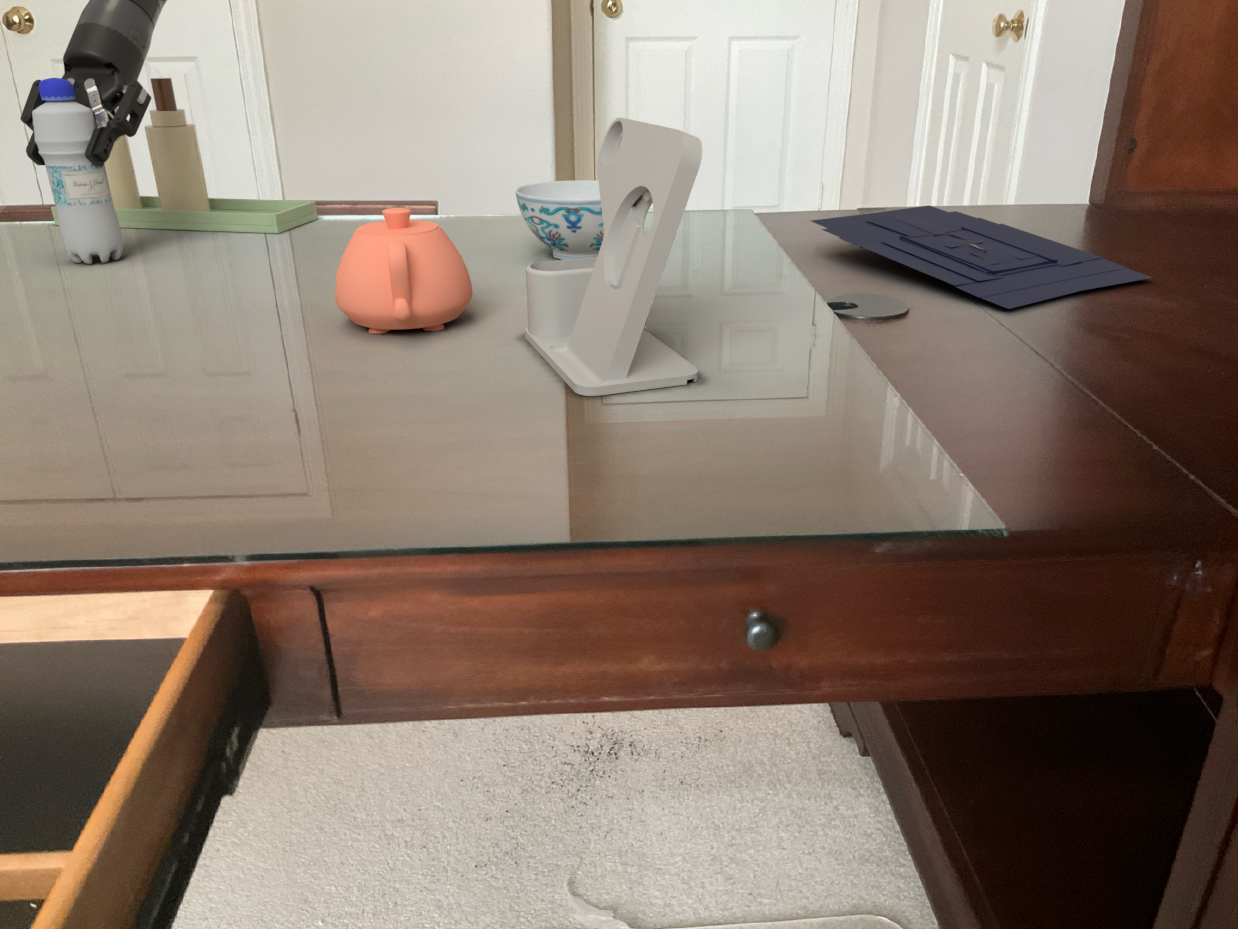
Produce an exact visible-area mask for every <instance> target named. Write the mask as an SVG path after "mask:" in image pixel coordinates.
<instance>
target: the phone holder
mask: <svg viewBox="0 0 1238 929" xmlns="http://www.w3.org/2000/svg"><path fill="white" fill-rule="evenodd" d="M702 158H703V144H702V141H701V139H700V138H699V137H698V136H695V135H694V134H693V135H692V134H690V133H687V132H685V131H682V130H680V129H676V128H672V127H668V126H663V125H658V124H653V123H650V122H644V121H639V120H634V119H629V118H625V117H616V118H614V119H613V120H612V121H611V123H610V124H609V126H608V128H607V130H606V132H605V135H604V137H603V139H602V143H601V146H600V149H599V152H598V155H597V161H596V174H597V181H598V183H599V191H600V199H601V208H602V216H603V224H604V236H603V241H602V244H601V247H600V251H599V254H598V257H593V258H580V259H567V260H561V259H558V260H557V259H556V260H544V261H537V262H533V263H531V264H529V265H527V266H526V268H525V283H526V284H525V285H526V286H525V287H526V305H527V327H525V328H524V338H525V340H526V341H527V342H528V344H530V345H531V347H533V349H534V350H535V351H536V352H537V353H538V354H539V356H541V357H542V358H543V359H544V361H545V362H546V363H547V364H548V365H549V366H550V368H552V369H553V371H555V373H556V374H557V375H558V376H559V377H560V378H561V379H562V380H563V382H565V383H566V385H567V386H568V387H569V388H570V389H571V390H572V391H573V392H574V393H575V394H577V395H580V396H586V397H599V396H608V395H614V394H622V393H631V392H638V391H645V390H646V391H647V390H654V389H661V388H670V387H676V386H677V387H679V386H685V385H688V381H689V380H690V381H692V382H693V383H696V382H698V379H699V368H698V367H696V366H695V365H694V364H692V363H691V362H689V361H688V360H686V358H684V357H682V355H680V354H679V353H677V351H674V349H672V348H671V347H669V346H668V345H666V344H665V343H663V342H662V341H661V340H660V339H658V338H657V337H655V336H654V335H653V334H651V333H650V332H649V331H647V330H646V329H645V326H646V323H647V319H648V316H649V314H650V310H651V308H652V305H653V302H654V299H655V297H656V295H657V294H656V293H657V291H658V288H659V284H660V282H661V280H662V276H663V274H664V270H665V268H666V265H667V262H668V259H669V256H670V253H671V250H672V247H673V245H674V242H675V239H676V236H677V233H678V230H679V228H680V225H681V221H682V219H683V215H684V213H685V210H686V207H687V204H688V201H689V198H690V196H691V193H692V190H693V187H694V184H695V182H696V178H697V176H698V174H699V171H700V167H701V163H702ZM651 206H652V222H651V226H650V228H649V230H648V231H647V232H646V234H645V221H646V218H647V214H648V212H649V210H650V207H651Z"/></svg>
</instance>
